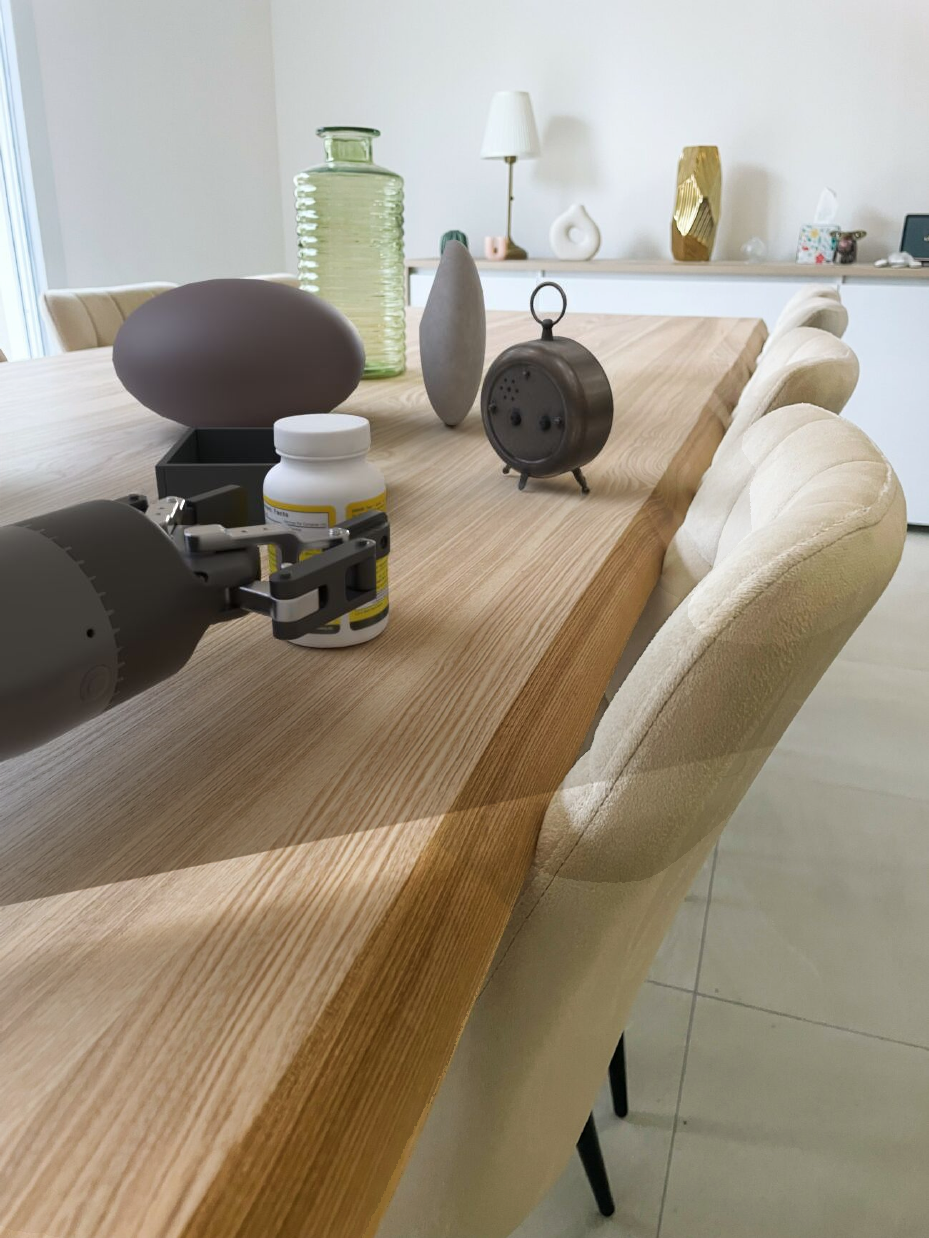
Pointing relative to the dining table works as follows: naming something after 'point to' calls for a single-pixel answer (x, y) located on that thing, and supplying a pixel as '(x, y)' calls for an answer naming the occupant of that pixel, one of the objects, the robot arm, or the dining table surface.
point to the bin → (219, 464)
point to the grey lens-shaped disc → (453, 335)
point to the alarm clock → (547, 404)
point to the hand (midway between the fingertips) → (309, 516)
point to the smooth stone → (238, 354)
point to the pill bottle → (328, 504)
